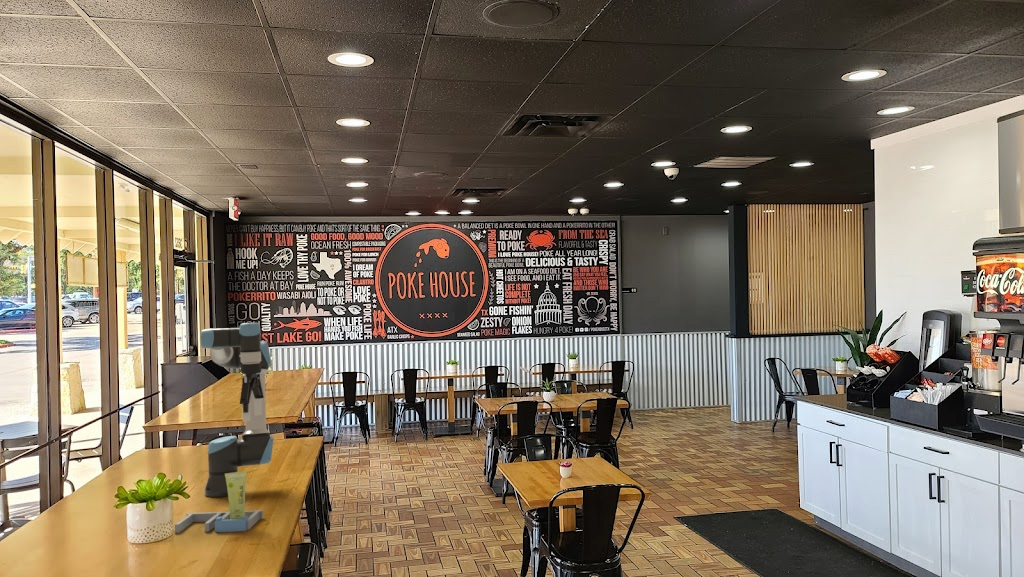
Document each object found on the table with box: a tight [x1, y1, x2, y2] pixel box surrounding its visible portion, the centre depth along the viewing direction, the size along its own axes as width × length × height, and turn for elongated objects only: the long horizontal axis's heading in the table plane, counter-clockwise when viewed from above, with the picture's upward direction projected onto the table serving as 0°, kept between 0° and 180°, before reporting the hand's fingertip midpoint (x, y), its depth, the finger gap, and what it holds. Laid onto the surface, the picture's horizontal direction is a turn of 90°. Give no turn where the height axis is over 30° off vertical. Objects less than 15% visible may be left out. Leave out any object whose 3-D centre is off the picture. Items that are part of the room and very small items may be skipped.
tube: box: [225, 470, 248, 519], centre depth 272 cm, size 6×5×20 cm
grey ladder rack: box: [174, 509, 264, 534], centre depth 273 cm, size 15×28×5 cm, turn 92°
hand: (252, 418), depth 287 cm, fingers open, 13 cm apart
